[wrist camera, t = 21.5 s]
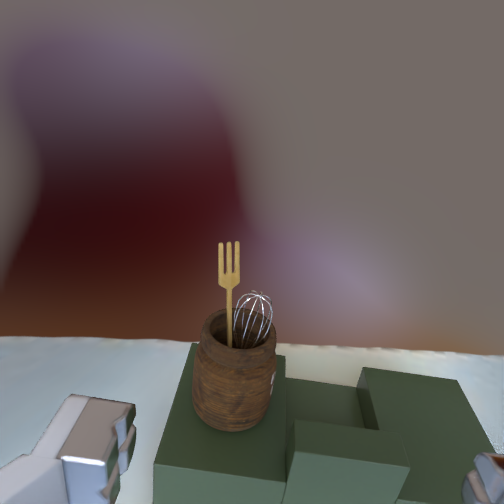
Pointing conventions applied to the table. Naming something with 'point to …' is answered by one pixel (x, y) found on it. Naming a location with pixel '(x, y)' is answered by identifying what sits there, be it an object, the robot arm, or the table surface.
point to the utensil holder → (234, 360)
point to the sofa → (325, 444)
